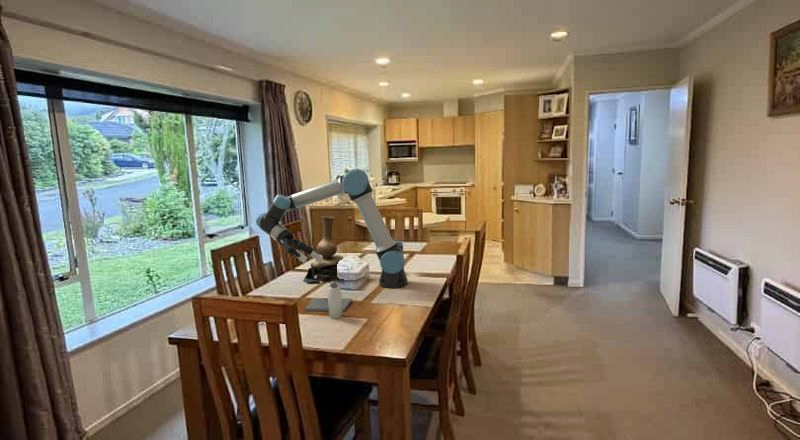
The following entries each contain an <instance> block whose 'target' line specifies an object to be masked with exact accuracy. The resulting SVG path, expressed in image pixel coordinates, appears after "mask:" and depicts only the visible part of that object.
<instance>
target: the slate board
mask: <svg viewBox="0 0 800 440" xmlns="http://www.w3.org/2000/svg"><path fill="white" fill-rule="evenodd" d="M352 299H353V298H352V297H351V298H349V297H345V298H344V297H343V298H342V297H341V301H342V312H345V311H346V309H347V308H348V307H349V305H350V304H351V302H352ZM304 311H305V312H329V306H328V297H314V299H313V300H312V301H310V303H308V304H307V305H306V306H305V307H304Z"/></svg>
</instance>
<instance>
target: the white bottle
mask: <svg viewBox="0 0 800 440" xmlns="http://www.w3.org/2000/svg"><path fill="white" fill-rule="evenodd" d="M341 286H342V285H339V284H338V282H337V281H331V282H330V284H329V285H328V286H327V298H328V306H329V311H328V317H330V319H331V318H332V319H333V320H334V319H335V320H337V319H342V317H343V311H342V301H341V298H342V289H341V288H342V287H341Z"/></svg>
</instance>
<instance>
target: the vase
mask: <svg viewBox="0 0 800 440" xmlns="http://www.w3.org/2000/svg"><path fill="white" fill-rule="evenodd" d="M334 219H335V217H334V216H329V215H328V216H325V215H324V216H321V220H322V230H323V231H322V232H323V233H322V239H321V240H320V242H319V243H318V245H317V246H316V249H317V254H319V255H320V256H321V257H322V258H323V260H322V261H321V263H319V262H318V261H317V260H315V259H314V260H313V261H311V263H310V267H309V268H308V269H307V273H306V274H305V276H304V279H303V281H302V283H306V284H307V285H308V284H310V283H312V282H317V284H321V282H320V280H318V279H320V278H326V277H329V278H335V277H336V278H337V264H338V262H339V261H340V260H342V259H343V258H344V259H345V257H344V256H343V255H340V254H336V253H337V251H338V246H337V243H336V242H335V241H334V240H333V235H332V234H333V224H334V221H335V220H334Z"/></svg>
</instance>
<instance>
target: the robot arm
mask: <svg viewBox="0 0 800 440" xmlns="http://www.w3.org/2000/svg"><path fill="white" fill-rule="evenodd" d="M373 193H374V190H373V188H372V186H371V184H370V182H369V176H368V175H367V173H366V172H365V171H364V170H362V169H359V168H355V169H350V170H348V171H346V173H345V174H343V175H339V177H338V178H337V179H334V180H331V181H328V182H325V183H323V184H320V185H317V186H313V187H311V188H308V189H305V190H302V191H299V192H295V193H293V194H290V195H287V196H285V195H283V194H276V196H275V198H274V199H273V201H272V203H271V205H270V207H269V208H268V210H267V212H263V213H260V214H259V216H257V218H256V220H255V223H256V226H258V228H260V230H261V231H263V232H264V233H265V234H267V235H268V236H269V237H270V238H272V239H273V241H275V242H277V243H278V244H279V245H280V246H282V247H283V248H284V249H285V251H286V253H287V254H289V255H290V256H294V257H296V258H297V259H298V260H299V261H300V262H302V263H303V264H305V263H306V261H307V259H308V257H307V256H306V255H305V254H303V253H302V252H304V253H306V254H308V255H310V257H312V259H314V260H317V261H318V262H319V263H321V261H322V260H323V258H322V256H321V255H320V254H319V253H318V252H316V249H315V248H313V247H311V246H309V245H308V244H306V243H304V242H302V241H301V240H300V239H296V238H294V234H293V233H292V232H291V231H290V230H289V229H288V228H286V226H284V225H283V224H281V223H280V222H281V220H282V218H283V217H284V215H286V213H288V212H291V211H293V210H297V209H300V208H303V207H305V206H309V205H313V204H315V203H317V202H320V201H323V200H324V201H325V200H326V199H330V198H332V197H335V196H338V195H340V194H341V195H342V194H345V195H348V198H349V200H350V201H351V202H352V203H355V204H356V207H357V209H358V211H359V213H360V216H361V217H362V219H363V222H364V224H365V226H366V227H367V229H368V232H369V234H370V236H371V238H372V240H373V242H374V245H375V246H376V248H375V250H374V251H375V254H376V256H377V258H378V260H379V264H380V268H381V273H380V276H379V280H378V282H379V286H380V287H382V288H386V289H398V288H402V287H406V286H408V283H409V281H408V277H407V273H406V271H405V262H406V260H405V259H406V258H405V256H404V242H402V241H401V240H398V241H397V240H394V239H393V238H392V236H391V234H390V231H389V230H388V227H387V225H386V222H385V221H384V219H383V217H382V215H381V212H380V211H379V210H380V209H378V206H377V203H376V202H375V200H374V197H373ZM405 285H406V286H405Z"/></svg>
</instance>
